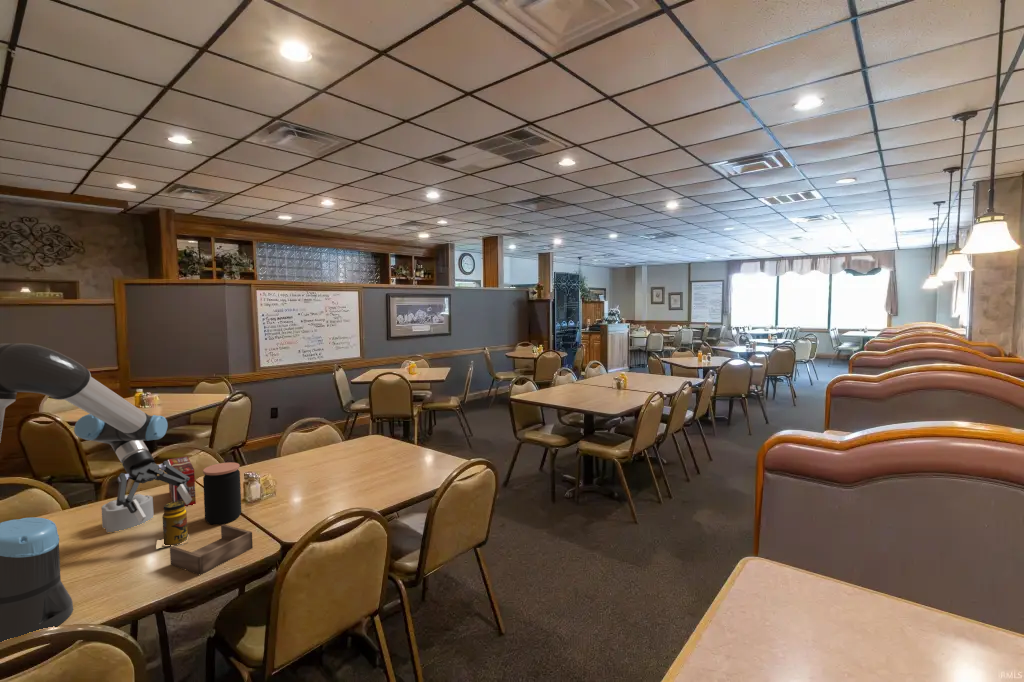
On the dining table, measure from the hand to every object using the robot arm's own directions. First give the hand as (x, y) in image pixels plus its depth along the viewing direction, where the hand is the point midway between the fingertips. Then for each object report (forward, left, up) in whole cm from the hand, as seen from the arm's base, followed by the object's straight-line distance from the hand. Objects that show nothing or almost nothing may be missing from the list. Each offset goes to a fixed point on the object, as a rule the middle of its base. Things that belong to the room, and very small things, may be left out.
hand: (167, 510), depth 145 cm
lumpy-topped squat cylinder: (-11, +20, -9) cm, 25 cm away
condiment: (+1, -4, -9) cm, 10 cm away
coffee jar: (+15, +6, -9) cm, 19 cm away
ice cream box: (+3, +35, -9) cm, 36 cm away
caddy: (+11, -21, -9) cm, 25 cm away
